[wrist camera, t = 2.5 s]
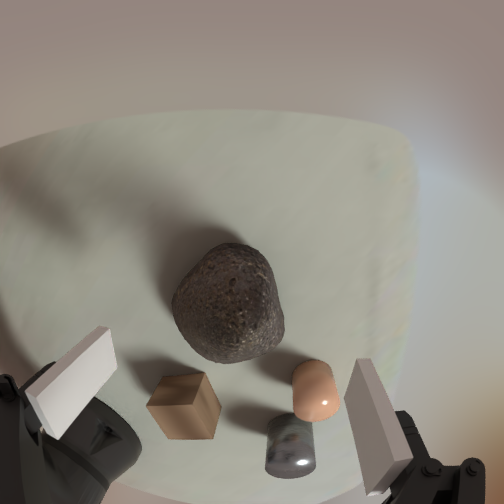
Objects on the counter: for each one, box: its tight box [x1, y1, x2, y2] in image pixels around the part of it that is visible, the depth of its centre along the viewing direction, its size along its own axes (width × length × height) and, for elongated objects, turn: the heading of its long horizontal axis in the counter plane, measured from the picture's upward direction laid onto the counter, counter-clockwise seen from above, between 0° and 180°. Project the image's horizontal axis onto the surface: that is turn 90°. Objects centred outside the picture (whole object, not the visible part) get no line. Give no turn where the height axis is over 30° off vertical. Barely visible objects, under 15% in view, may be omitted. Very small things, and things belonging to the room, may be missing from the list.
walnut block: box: [146, 373, 221, 440], centre depth 24 cm, size 5×5×5 cm
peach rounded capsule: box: [292, 360, 340, 422], centre depth 23 cm, size 4×4×4 cm
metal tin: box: [265, 414, 316, 479], centre depth 24 cm, size 5×5×6 cm
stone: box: [172, 243, 285, 364], centre depth 22 cm, size 10×8×10 cm
